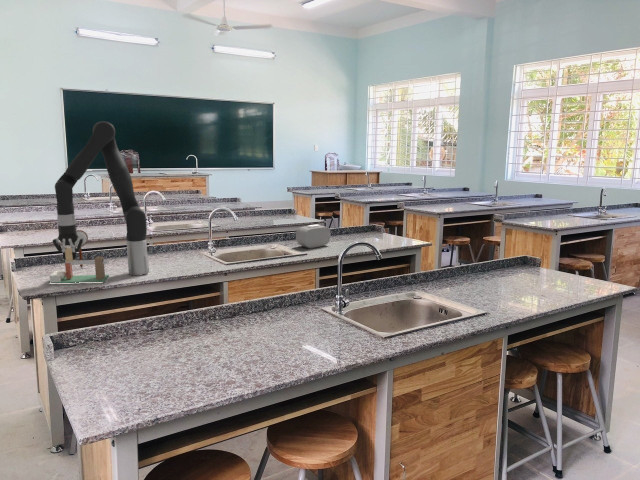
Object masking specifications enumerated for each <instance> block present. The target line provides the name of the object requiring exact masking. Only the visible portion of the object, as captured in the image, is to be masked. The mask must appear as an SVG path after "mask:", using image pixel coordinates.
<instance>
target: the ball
mask: <svg viewBox="0 0 640 480" xmlns="http://www.w3.org/2000/svg"><path fill="white" fill-rule="evenodd" d="M58 271H59V272H58V273H57V275H61V279H64V278H66V273H65V272H64V270H58Z"/></svg>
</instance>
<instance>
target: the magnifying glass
mask: <svg viewBox="0 0 640 480" xmlns="http://www.w3.org/2000/svg"><path fill="white" fill-rule="evenodd" d="M76 231H77V236H78V237H79V238H84V241H83V244H82V247H84V246H85V245H86V244H87V243H88V240H89V236H88V234H87V232H86V231H84V230H82V229H80V230H79V229H78V230H77V229H76ZM75 244H76V248H77V247H78V244H79V242H78V240H77V241H76V242H75ZM82 252H83V251H82V248H81V249H80V250H79V251H78V255H79V256H78V257H79V260H83V253H82ZM79 267H80V268H81V269H83V267H84V264H79Z"/></svg>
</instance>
